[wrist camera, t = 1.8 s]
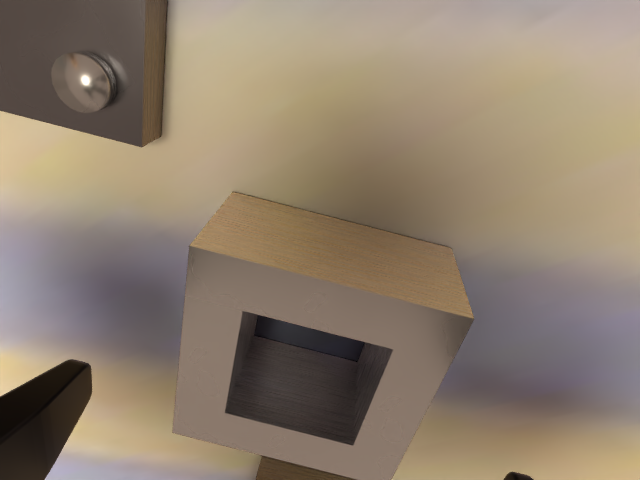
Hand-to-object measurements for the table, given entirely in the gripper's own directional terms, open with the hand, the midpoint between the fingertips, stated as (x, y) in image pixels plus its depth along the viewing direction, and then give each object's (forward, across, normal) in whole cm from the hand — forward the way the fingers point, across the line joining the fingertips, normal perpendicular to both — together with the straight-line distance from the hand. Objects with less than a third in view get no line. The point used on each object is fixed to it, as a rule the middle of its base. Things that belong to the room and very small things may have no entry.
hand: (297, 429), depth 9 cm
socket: (+4, 0, 0) cm, 4 cm away
